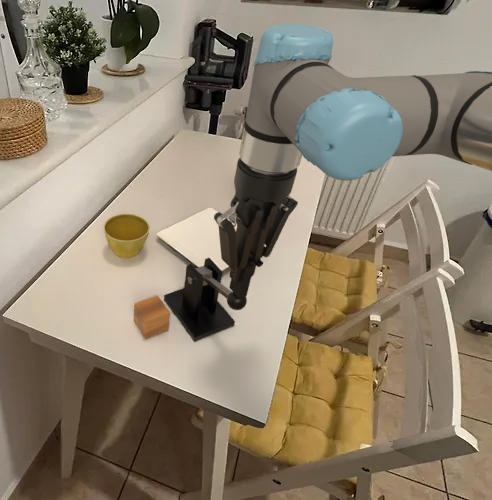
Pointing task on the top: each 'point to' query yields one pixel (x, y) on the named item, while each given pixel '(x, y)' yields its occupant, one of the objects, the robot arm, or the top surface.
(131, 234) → the yellow bowl
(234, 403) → the top surface
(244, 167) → the robot arm
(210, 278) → the lever
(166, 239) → the plate
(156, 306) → the brown wooden cube
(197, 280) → the black lever base
